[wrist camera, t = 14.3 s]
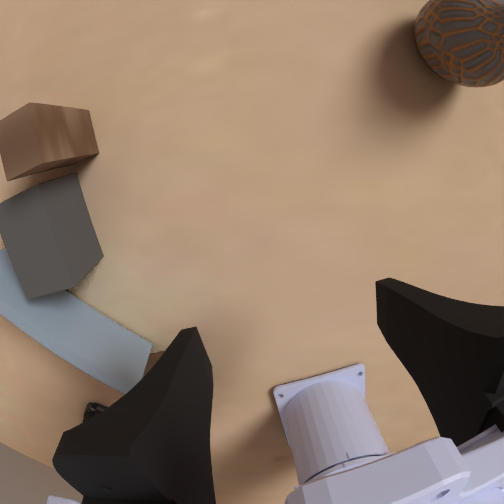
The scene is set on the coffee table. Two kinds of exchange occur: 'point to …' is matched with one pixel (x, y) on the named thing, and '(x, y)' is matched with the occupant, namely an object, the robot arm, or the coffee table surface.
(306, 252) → the coffee table surface
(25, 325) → the door
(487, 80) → the vase
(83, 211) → the block
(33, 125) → the door frame
